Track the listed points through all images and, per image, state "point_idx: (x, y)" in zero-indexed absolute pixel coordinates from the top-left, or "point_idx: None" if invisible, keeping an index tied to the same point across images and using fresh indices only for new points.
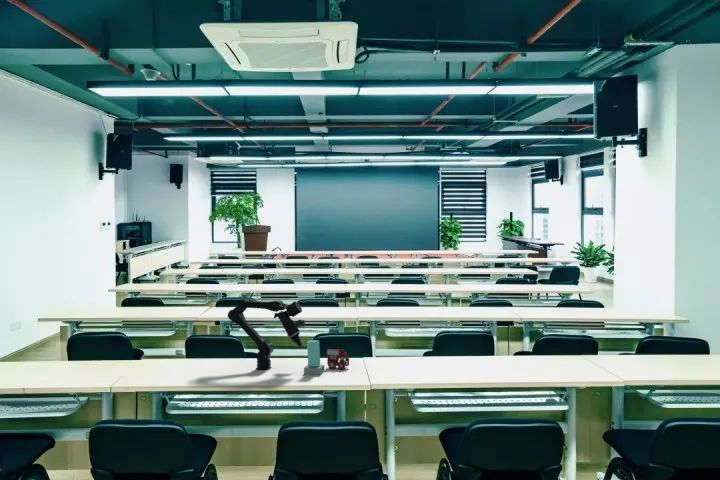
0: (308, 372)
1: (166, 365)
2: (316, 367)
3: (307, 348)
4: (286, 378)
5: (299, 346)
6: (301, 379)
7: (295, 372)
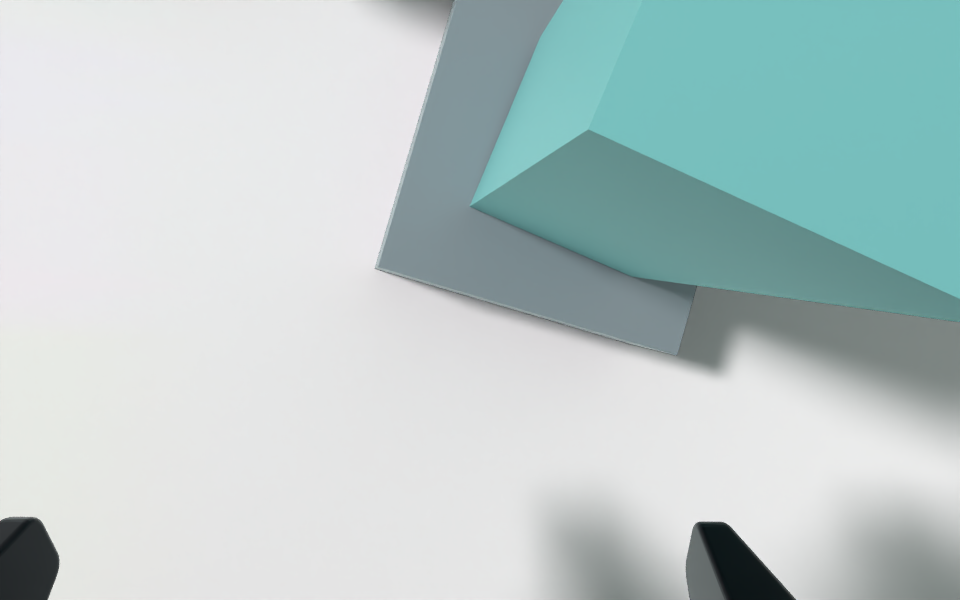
0: None
1: None
2: None
3: (825, 301)
4: (822, 589)
5: (51, 582)
6: (898, 382)
7: (473, 474)
